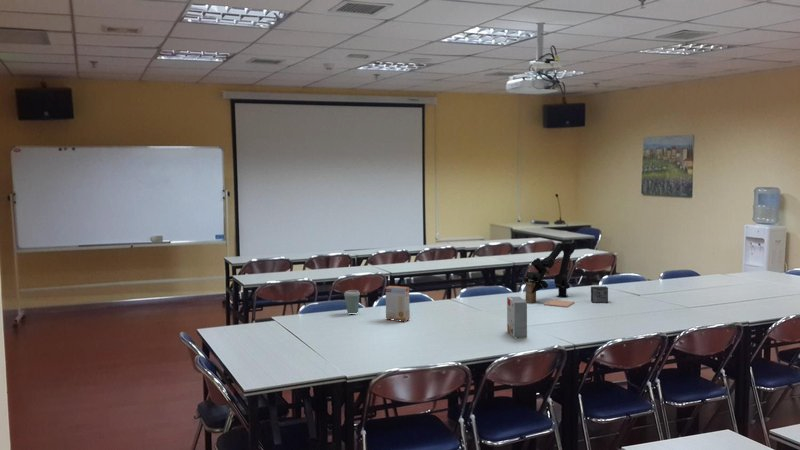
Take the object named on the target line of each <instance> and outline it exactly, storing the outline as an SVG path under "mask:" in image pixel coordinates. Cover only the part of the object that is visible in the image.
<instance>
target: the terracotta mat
mask: <svg viewBox="0 0 800 450" xmlns="http://www.w3.org/2000/svg"><path fill="white" fill-rule="evenodd" d="M574 304H575V301H573V300H561V299H560V300H559V299H550V300H548V301H547V302H545V303H543V306H548V307H557V308H558V307H559V308H569V307H571V306H573V305H574Z"/></svg>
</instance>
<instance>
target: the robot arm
mask: <svg viewBox="0 0 800 450" xmlns="http://www.w3.org/2000/svg"><path fill="white" fill-rule="evenodd" d="M575 249H576V245H575V243H574V242H567V241H565V242H564V243H562V242H558V243H556V246H555V248H553V250H552V251H551V252H550V254H549V255H548V256H546V257H544V258H543V259H542V260H541V258H539V257H537V258H536V259H533V260H532V261H531V265H532V267H533V268H534V269H535V272H534V271H528V275H527V276H528V277H526V276H524V277H523V279H522V281H523V282H524V283H525V284H526V283H528V282H533V283H536V285H535V287H534V289H533V291H532V293H534V292H536V293H537V292H538V291H540V290H542V289H548V287H549V284H548V282H546V280H545V276H546V274H550V271H549V269H552V268H553V266H554V264H555V260H556V259H557V258H558V256H559V255H560V254H561V253H563V255H562V258H561V259H562V260H561V263H560V268H559V272H558V273H557V274H555V276H554V279H553V280H554V286H555V288H558V290H557V291H558V292H557V293H558V294H557V295H556V297H559V298H567V297H568V296H569V294H567V291H568V289H570V286H571V285H570V283H569V282H568V276H567V273H568V268H569V263H570V261H571V256H572V254H573V253H574V252H575ZM529 277H530V278H529Z"/></svg>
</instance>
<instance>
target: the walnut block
mask: <svg viewBox="0 0 800 450" xmlns="http://www.w3.org/2000/svg"><path fill="white" fill-rule="evenodd" d="M535 285H536V283H533V282H528V283H525V301H526V302H527V303H531V304H532V303H536V302H537V291H536V292H534V293H532V291H533V289H534V287H535Z"/></svg>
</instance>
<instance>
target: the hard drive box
mask: <svg viewBox="0 0 800 450" xmlns="http://www.w3.org/2000/svg"><path fill="white" fill-rule="evenodd" d="M506 314H507V315H506V321H507V322H506V324H507V325H506V329H507V330H506V331H507V332H508V334H510V336H511V337H512V338H514V337H528V302H526V300H524V298H522V297H521V296H506Z"/></svg>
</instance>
